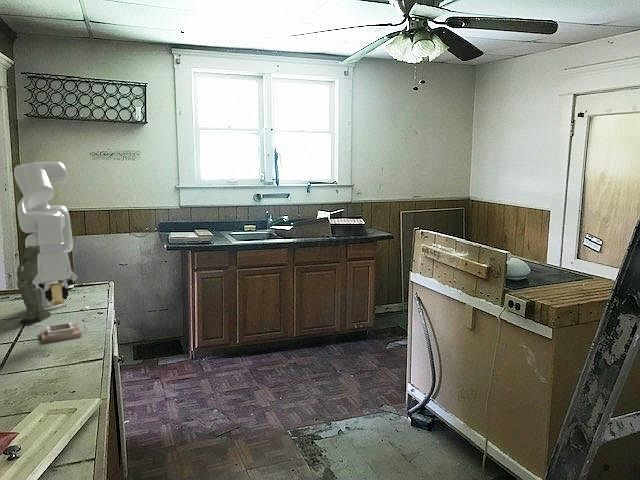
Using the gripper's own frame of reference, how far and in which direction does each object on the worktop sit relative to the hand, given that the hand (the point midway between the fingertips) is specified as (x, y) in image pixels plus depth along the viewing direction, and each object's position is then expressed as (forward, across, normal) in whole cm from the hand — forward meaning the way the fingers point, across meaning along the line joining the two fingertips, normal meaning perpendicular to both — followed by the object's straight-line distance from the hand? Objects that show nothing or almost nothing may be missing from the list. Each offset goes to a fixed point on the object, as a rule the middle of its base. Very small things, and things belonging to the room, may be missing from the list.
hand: (57, 299), depth 180 cm
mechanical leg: (+13, +6, -26) cm, 30 cm away
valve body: (+2, 0, 0) cm, 2 cm away
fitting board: (+13, 0, 0) cm, 13 cm away
